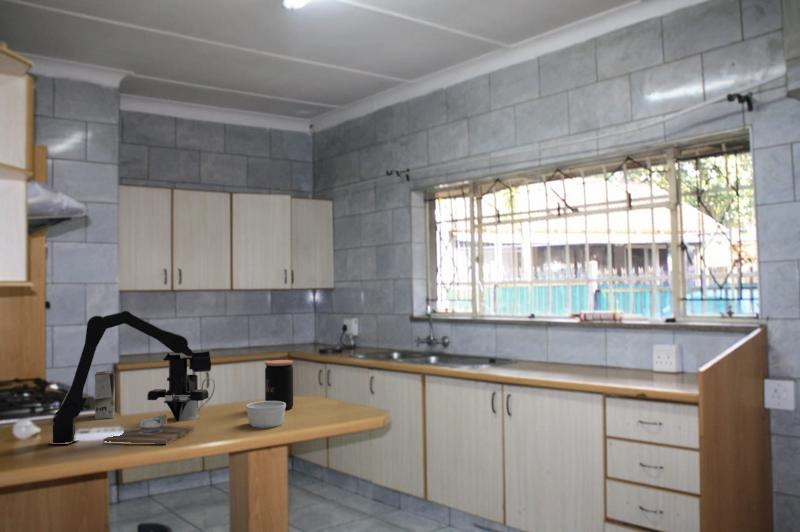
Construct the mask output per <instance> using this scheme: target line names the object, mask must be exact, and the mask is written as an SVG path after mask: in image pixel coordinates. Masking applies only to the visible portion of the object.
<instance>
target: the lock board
mask: <svg viewBox="0 0 800 532" xmlns="http://www.w3.org/2000/svg"><path fill="white" fill-rule="evenodd" d="M192 430H194V431H195V425H174V424H173V425H171V424H170V425H169V424H168V425H166V424H164V425H162V426H161V430H160V431H157V432H151V433H143V432H140V424H136V425H133V426H131V427H129V428H126V429H124V430H123V431H124V433H123V434H122V435H120V436H113V437H109V436H107V437H105V438H103V442H104V441H107V442H109V441H111V442H131V443H155V444H166V443H168V442H170V441H173V440H175V439H177V438H179V437H181V436H182V437H184V436H186V435H188V434H190V433H191V432H190V431H192ZM189 432H190V433H189ZM192 432H193V431H192ZM187 433H188V434H187ZM185 434H186V435H185ZM183 435H184V436H183ZM182 437H181V438H182ZM179 439H180V438H179ZM177 440H178V439H177ZM175 441H176V440H175ZM173 442H174V441H173Z"/></svg>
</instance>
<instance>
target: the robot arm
mask: <svg viewBox="0 0 800 532" xmlns="http://www.w3.org/2000/svg"><path fill="white" fill-rule="evenodd" d="M120 325H127V326H129V327H131V328H133V329H135V330H136V331H137V330H138V331H139V332H141V333H142V334H145V335H147V336H148V337H151V338H153V339H155V340H157V341H158V342H159V343H161V344H163V346H164V347H166V348H167V349H168V350H170V351H172V353H175V354H171V353H170V352H166V355H164V356H163V357H162V360H163V361H164V362H166V361H168V377H166V381H167V382H168V389H166V388H154V389H151V390H149V391H148V392H147V399H146V400H147V401H157V400H158V399H159V398H164V399H165V400H164V401H163V403H164V404H166V405H167V406H168V408H169V410H170V411H171V413H172V415H173V418H175V419H176V420H175V419H174V420H175V421H176V422H180V421H182V420H181V417H182V414H183V411H184V408H185V406H186V404H187V403H188V402H189V401H191V400H192V401H198V402H201V401H206V400H208V399H209V398H210V396H209V394H210V393H209V391H208V389H202V390H201V389H197V390H194V387H195V382H193V381H190V380H189V375H190V374H188V370H191V371H192V373H206V372H207V373H209V372H211V370H212V361H211V356H210V351H209V350H203V351H194V352H193V350H192V349H191V348H190V347H189V342H188V340H187V338H186V337H185V336H183V335H181V334H178V333H175V332H171V331H167V330H164V329H162V328H160V327H158V326H156V325H155V324H152V323H150V322H148V321H146V320H144V319H142V318H140V317H138V316H137V315H135V314H133V313H132V312H130V311H128V310H122V311H119V312H116V313H112V314H108V315H103V316H101V315H99V314H96V315H93V316H91V317H90V318H89V319H88V320H87V323H86V331H85V337H84V338H85V340H84V345H83V348H82V351H81V354H80V357H79V361H78V364H77V367H76V371H75V373H74V378H73V380H72V383H71V386H70V388H69V389H68V391H67V393H66V394H65V397H64V399H63V400H62V402H61V404H60V408H59V409H58V410H57V411H56V412H55V413H54V414H53V417H52V422H53V423H52V441H53V443H65V442H71V441H73V439H74V435H75V436H76V423H75V421H76V420H74V419H75V418H77V417H79V416H80V414H81V412H84V410H85V409H84V407H85V406H84V405H85V403H86V401H87V399H88V395H87V394H84V389H85V386H86V383H87V380H88V377H89V373H90V370H91V366H92V363H93V360H94V356H95V353H96V350H97V348H98V345H99V343H100V342H101V340H102V338H103V336H104V334H105V332H106V330H107V329H112V328H115V327H117V326H120ZM181 354H183V355H185V356H181Z"/></svg>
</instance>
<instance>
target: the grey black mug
mask: <svg viewBox="0 0 800 532" xmlns="http://www.w3.org/2000/svg"><path fill="white" fill-rule="evenodd" d="M188 375H189V380H190V381H193V382H195V387H194V390H197V389H198V387H199V386H198V383H199V382H198V380H199V379H198V375H197V374H188ZM207 380H211V381H212V382H213V389H212V392H211V394H210V396H209V398H207V399H206V400H205V402H204V403H202V404H201V405H200V407H199V401H192V400H191V401H189V402H188V403H187V404H186V406H185V408H184V411H183V414H182V417H181V420H180V421H192V420H191V419H193V420H197V419H196V418H198V419H200V415H199V413H200V409H201V408H202V407H204V406H205V405H206V404H207V403H208V402H209V401H210V400H211V399H212V397H213V395H214V393H215V387H216V385H215V384H216V383H215V381H214V379H213V378H210V377H208V378H205V379H204V380H203V381H202V384H201V389H200V390H204V383H205V382H206V381H207ZM198 390H199V389H198ZM173 419H174V420H175V417H173Z"/></svg>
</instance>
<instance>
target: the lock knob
mask: <svg viewBox="0 0 800 532" xmlns="http://www.w3.org/2000/svg"><path fill="white" fill-rule="evenodd" d="M166 424H168V414H166V413H161V414H159V415H156V416H155V417H150V418H143V419H140V424H139V425H140V432H143V433H151V432H157V431H160V430H161V426H162V425H166Z"/></svg>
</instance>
